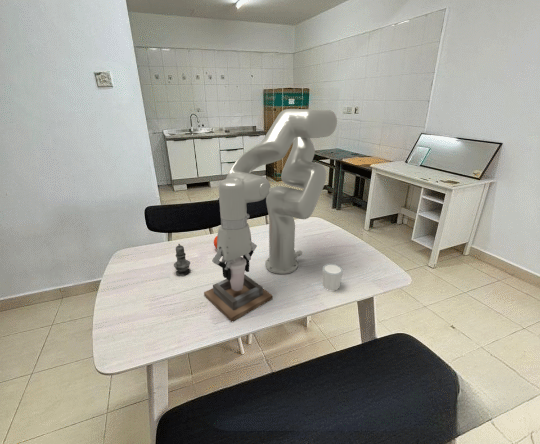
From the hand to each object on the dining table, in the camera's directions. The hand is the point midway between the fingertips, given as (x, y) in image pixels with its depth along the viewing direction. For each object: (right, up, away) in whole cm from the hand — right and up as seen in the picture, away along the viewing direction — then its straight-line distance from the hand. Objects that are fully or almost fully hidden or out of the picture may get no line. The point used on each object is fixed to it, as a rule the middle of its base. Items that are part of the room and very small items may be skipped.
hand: (236, 273), depth 91 cm
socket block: (0, -9, +4) cm, 9 cm away
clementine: (-9, +4, +34) cm, 35 cm away
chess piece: (-22, -3, +18) cm, 29 cm away
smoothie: (0, -5, +2) cm, 5 cm away
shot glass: (+32, -6, +10) cm, 34 cm away
